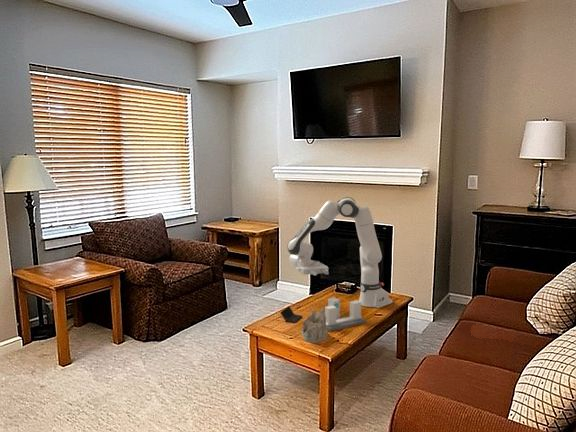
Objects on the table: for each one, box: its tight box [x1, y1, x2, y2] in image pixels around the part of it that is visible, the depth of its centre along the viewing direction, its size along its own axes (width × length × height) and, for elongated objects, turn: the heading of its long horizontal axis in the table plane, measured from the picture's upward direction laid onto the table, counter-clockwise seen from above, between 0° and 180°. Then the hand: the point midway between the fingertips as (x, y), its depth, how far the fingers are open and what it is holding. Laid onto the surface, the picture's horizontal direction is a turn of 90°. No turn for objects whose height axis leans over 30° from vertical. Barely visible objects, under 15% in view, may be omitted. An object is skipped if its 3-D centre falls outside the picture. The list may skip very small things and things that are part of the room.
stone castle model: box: [301, 307, 329, 344], centre depth 229 cm, size 16×16×15 cm
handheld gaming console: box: [280, 306, 303, 324], centre depth 254 cm, size 12×7×10 cm
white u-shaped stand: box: [324, 299, 367, 332], centre depth 245 cm, size 25×10×12 cm, turn 118°
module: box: [327, 297, 341, 319], centre depth 255 cm, size 4×6×11 cm
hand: (321, 273), depth 263 cm, fingers open, 8 cm apart
